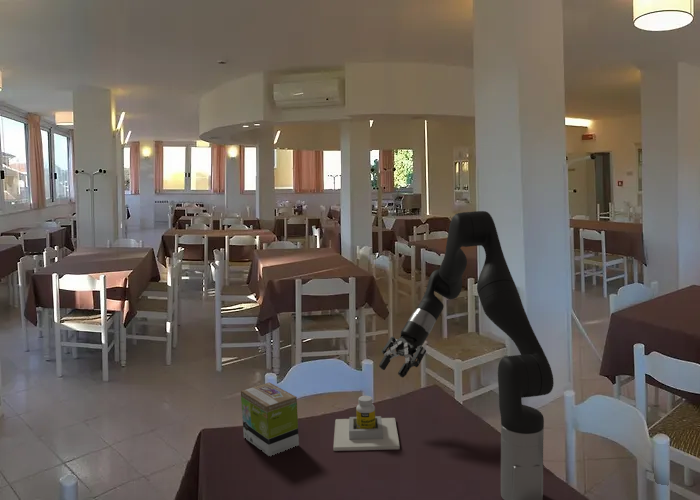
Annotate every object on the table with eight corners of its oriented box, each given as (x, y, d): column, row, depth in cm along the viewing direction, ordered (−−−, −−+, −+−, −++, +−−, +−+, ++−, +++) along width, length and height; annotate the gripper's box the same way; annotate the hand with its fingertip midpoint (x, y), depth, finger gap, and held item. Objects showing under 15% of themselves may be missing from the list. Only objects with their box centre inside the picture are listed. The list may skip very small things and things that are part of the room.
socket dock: (399, 449, 152) (399, 437, 152) (333, 450, 152) (333, 438, 152) (394, 420, 170) (394, 409, 170) (335, 422, 170) (335, 411, 170)
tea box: (242, 438, 161) (239, 389, 159) (272, 428, 168) (270, 381, 166) (269, 458, 150) (266, 405, 148) (300, 446, 156) (298, 395, 154)
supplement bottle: (360, 436, 158) (359, 403, 157) (354, 428, 163) (353, 396, 162) (378, 433, 159) (377, 400, 158) (372, 425, 165) (371, 393, 163)
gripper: (396, 316, 174) (368, 359, 169) (428, 324, 163) (400, 371, 157) (409, 329, 178) (382, 372, 173) (441, 338, 167) (414, 385, 161)
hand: (390, 372), depth 165 cm, fingers open, 8 cm apart
